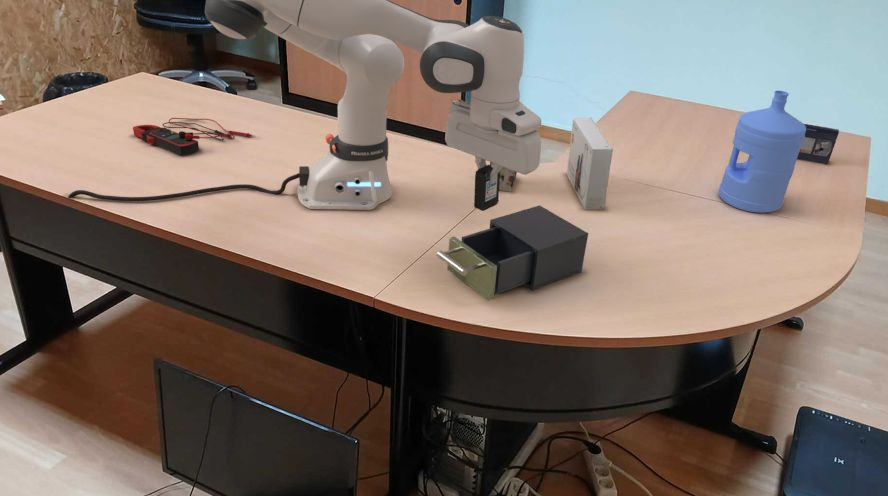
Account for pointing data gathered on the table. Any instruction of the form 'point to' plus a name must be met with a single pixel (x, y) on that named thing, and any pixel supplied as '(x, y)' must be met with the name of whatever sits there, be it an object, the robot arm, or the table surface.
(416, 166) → the table surface
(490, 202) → the ink cartridge
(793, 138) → the water jug
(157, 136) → the digital clamp meter
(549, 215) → the cabinet
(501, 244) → the drawer
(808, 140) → the vhs cassette tape
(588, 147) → the skincare box
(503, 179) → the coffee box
